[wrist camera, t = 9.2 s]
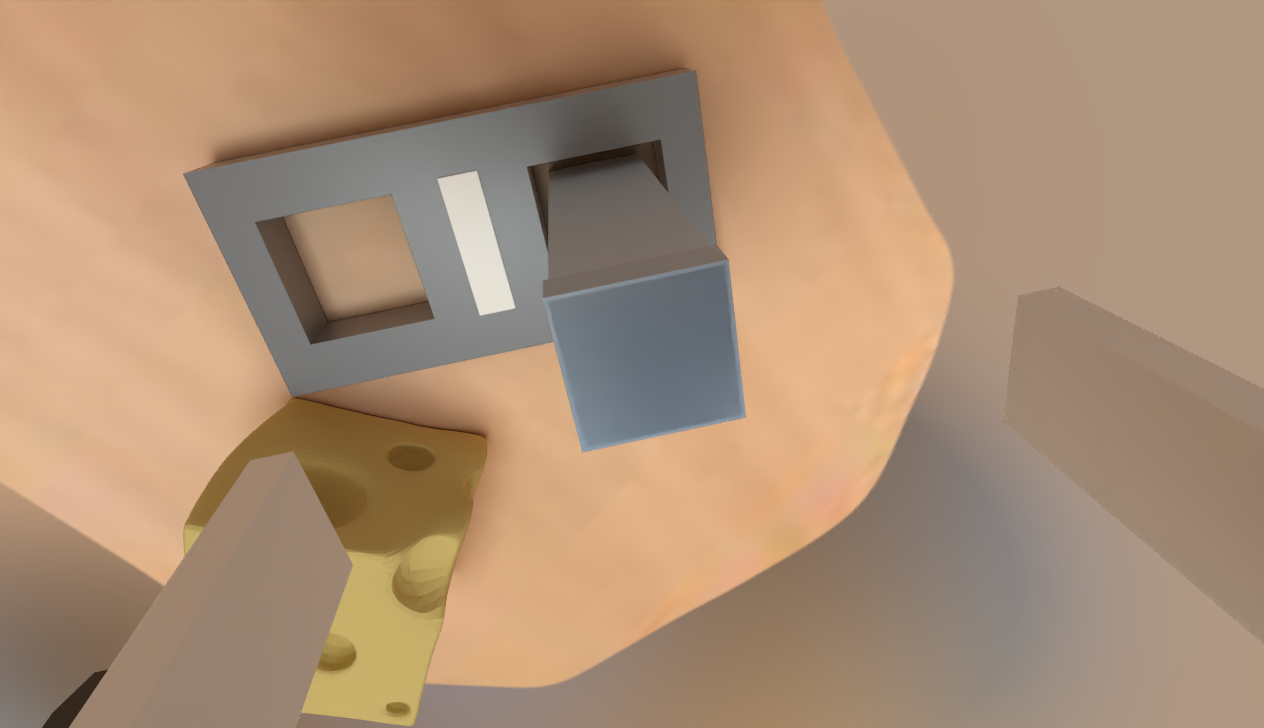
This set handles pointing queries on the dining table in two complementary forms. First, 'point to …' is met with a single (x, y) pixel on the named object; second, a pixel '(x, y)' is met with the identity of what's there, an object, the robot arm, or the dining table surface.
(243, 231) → the port panel
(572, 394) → the plug
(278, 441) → the cheese
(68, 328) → the dining table surface
